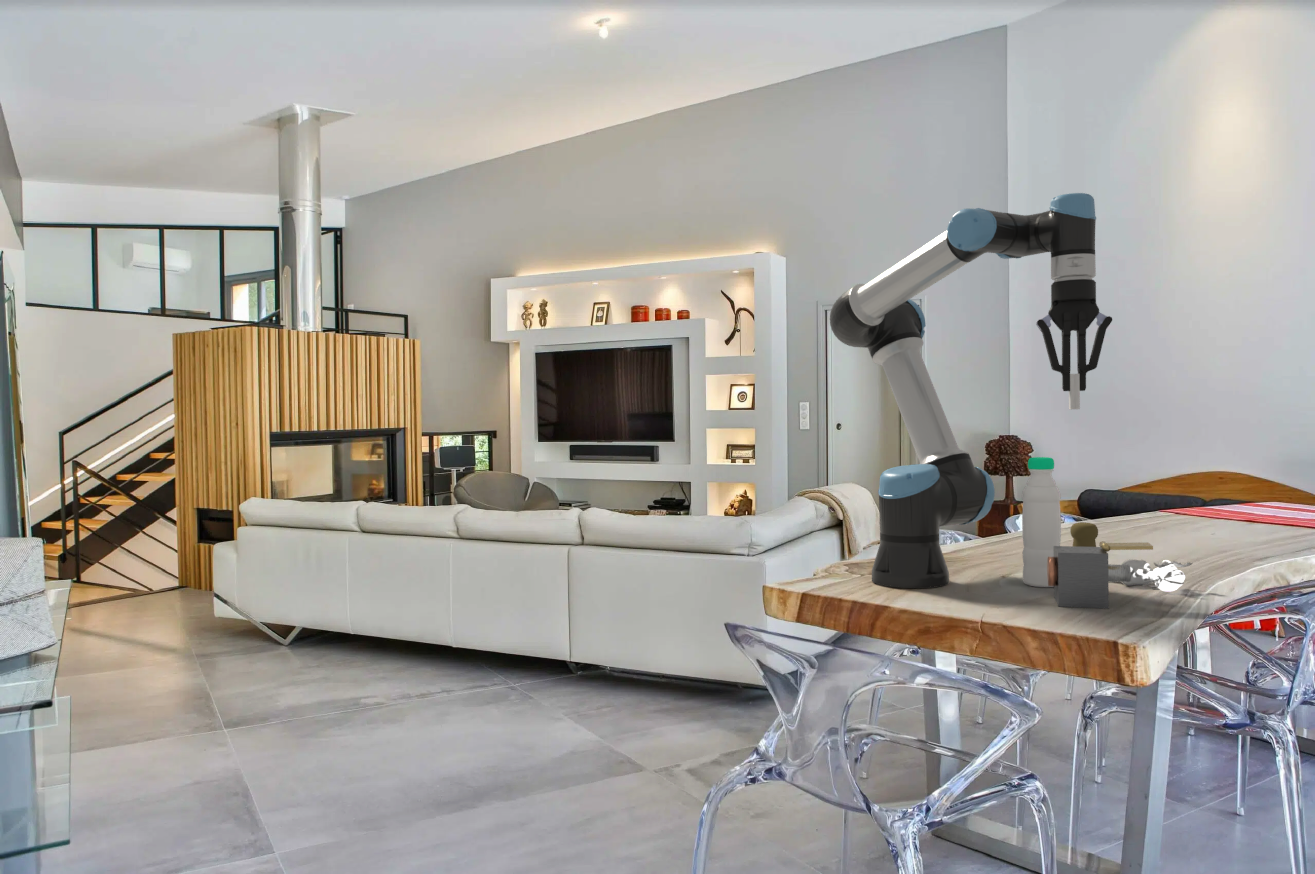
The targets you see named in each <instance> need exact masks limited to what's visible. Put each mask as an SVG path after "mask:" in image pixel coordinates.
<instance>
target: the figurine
mask: <svg viewBox="0 0 1315 874" xmlns="http://www.w3.org/2000/svg"><path fill="white" fill-rule="evenodd" d="M1193 563H1194V562H1189V561H1188V562H1186V563H1181V562H1178V561H1175V560H1171V561H1170V560H1168V559H1164V560H1163V561H1160V562H1157V563H1156V562H1153V564H1154V566H1155V567H1156V568H1154V569H1152V567H1151V566H1150V563H1148V562H1147V561H1146V560H1144V559H1133V558H1132V559H1131V558H1130V559H1129V558H1128V559H1126V560H1124V561H1123V562H1122V563H1121V564H1120V565H1130V569H1131V581H1130V582H1121V583H1122V584H1123V585H1124V586H1126V587H1131V586H1137V585H1138V586H1144V585H1150V587H1153V588H1152V590H1159V591H1162V592H1174V591H1176V590H1178V589H1179V588H1180V587H1182V586H1183V585H1184V584H1185V579H1186V575H1185V572H1183V571H1182V570H1181V569H1178V568H1179V567H1180V568H1186V567H1189V566H1190V567H1191V566H1192V565H1193ZM1177 567H1178V568H1177ZM1153 583H1154V585H1151V584H1153ZM1154 587H1156V588H1154Z"/></svg>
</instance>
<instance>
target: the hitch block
mask: <svg viewBox="0 0 1315 874" xmlns="http://www.w3.org/2000/svg"><path fill="white" fill-rule="evenodd" d="M1054 557H1056V563H1057V585H1056V586H1054V587H1053V598H1054V601H1055V602H1056V604H1057V606H1058V607H1061V608H1062V607H1063V608H1084V609H1087V608H1088V609H1089V608H1090V609H1109V604H1110V603H1109V597H1110V595H1109V592H1110V591H1109V582H1108V564H1109V553H1108V552H1106V551H1104V550H1103V549H1102V548H1101V547H1100V546H1096V547H1076V546H1073V545H1072V546H1069V545H1068V546H1067V545H1065V546H1064V545H1060V546H1054Z"/></svg>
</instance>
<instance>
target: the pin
mask: <svg viewBox="0 0 1315 874" xmlns="http://www.w3.org/2000/svg"><path fill="white" fill-rule="evenodd" d="M1047 580H1048V586H1056V585H1057V563H1056V557H1048V558H1047ZM1130 581H1131V569H1130V565H1121V564H1112V563H1111V564H1109V563H1108V583H1111V582H1112V583H1113V582H1114V583H1116V582H1117V583H1122V582H1130Z"/></svg>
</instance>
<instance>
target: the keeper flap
mask: <svg viewBox="0 0 1315 874" xmlns="http://www.w3.org/2000/svg"><path fill="white" fill-rule="evenodd" d="M1098 547H1101V548H1102V549H1103V550H1104V551H1106V552H1107V553H1108V552H1110V551H1121V550H1122V551H1126V550H1127V551H1128V550H1129V551H1131V550H1133V551H1134V550H1135V551H1136V550H1137V551H1138V550H1139V551H1141V550H1143V551H1145V550H1147V551H1150V550H1152V551H1153V550H1154V545H1152V544H1151V543H1149V542H1106V541H1104V540H1103V541H1099V545H1098Z"/></svg>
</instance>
